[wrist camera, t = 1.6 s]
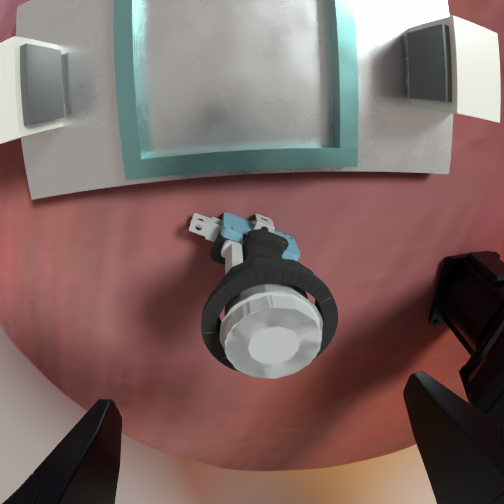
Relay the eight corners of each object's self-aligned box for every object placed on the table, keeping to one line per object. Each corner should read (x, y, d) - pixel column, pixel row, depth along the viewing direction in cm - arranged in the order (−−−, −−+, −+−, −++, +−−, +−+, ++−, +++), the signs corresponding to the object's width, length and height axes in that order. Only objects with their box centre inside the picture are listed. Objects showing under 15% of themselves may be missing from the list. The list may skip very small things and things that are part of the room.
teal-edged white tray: (436, 168, 19) (459, 179, 17) (42, 192, 18) (22, 206, 16) (432, -10, 13) (455, -18, 11) (29, 10, 12) (7, 3, 10)
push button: (180, 251, 21) (149, 364, 12) (209, 173, 18) (189, 247, 10) (274, 283, 22) (302, 401, 13) (310, 214, 20) (371, 308, 11)
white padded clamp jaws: (452, 113, 16) (499, 122, 12) (22, 137, 15) (-24, 152, 11) (450, 39, 14) (497, 33, 10) (16, 61, 13) (-30, 59, 9)
